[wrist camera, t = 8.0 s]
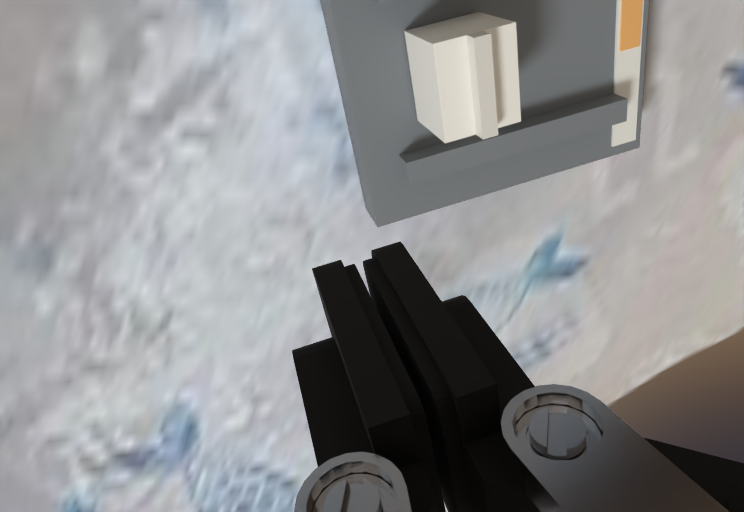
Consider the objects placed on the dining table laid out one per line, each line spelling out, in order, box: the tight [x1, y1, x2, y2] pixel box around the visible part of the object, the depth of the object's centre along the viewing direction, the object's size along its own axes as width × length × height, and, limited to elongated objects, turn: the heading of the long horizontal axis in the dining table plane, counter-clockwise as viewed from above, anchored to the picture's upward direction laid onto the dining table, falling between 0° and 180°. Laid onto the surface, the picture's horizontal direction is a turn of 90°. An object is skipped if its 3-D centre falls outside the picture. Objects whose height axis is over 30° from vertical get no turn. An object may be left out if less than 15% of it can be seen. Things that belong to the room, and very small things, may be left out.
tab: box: [404, 12, 521, 143], centre depth 21 cm, size 4×3×4 cm
